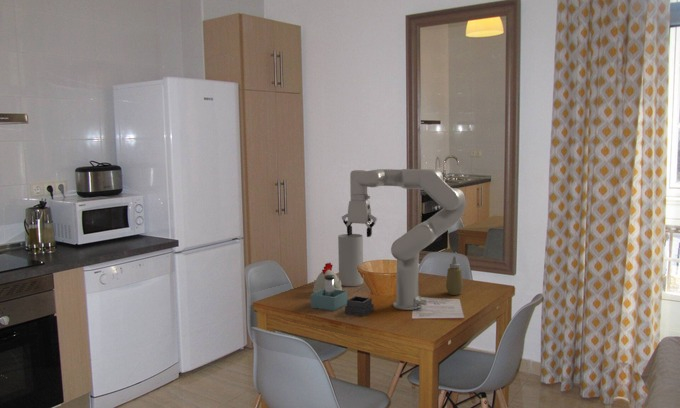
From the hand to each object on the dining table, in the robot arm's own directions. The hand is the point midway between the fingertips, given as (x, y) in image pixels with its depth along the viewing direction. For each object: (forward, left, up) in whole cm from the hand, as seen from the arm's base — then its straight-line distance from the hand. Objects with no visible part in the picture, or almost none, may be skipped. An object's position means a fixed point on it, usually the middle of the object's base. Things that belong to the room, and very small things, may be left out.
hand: (359, 235), depth 252 cm
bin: (+9, +12, -30) cm, 34 cm away
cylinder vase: (+19, -27, -31) cm, 45 cm away
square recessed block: (-7, +14, -30) cm, 34 cm away
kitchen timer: (+20, -5, -31) cm, 37 cm away
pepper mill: (+9, +12, -30) cm, 33 cm away
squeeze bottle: (-34, -32, -31) cm, 56 cm away
